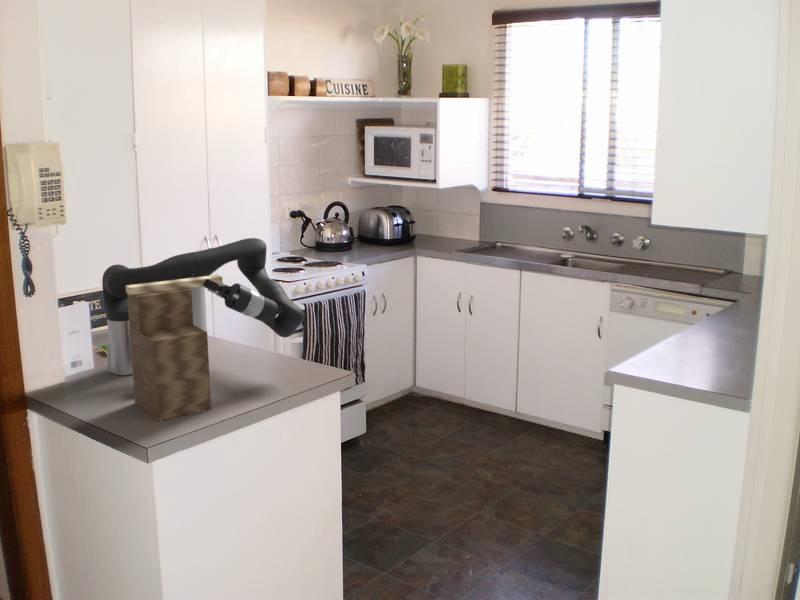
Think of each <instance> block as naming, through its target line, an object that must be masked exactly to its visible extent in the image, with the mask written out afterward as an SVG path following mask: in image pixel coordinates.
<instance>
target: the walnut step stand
mask: <svg viewBox="0 0 800 600" xmlns="http://www.w3.org/2000/svg"><path fill="white" fill-rule="evenodd" d="M127 298H128V312H129V326H130V340H131V354H132V367H133V374H132V379H133V392H134V404H135V405H137V406H138V407H139V408H140V409H142V410H143V411H144V412H146V414H148V415H149V414H150V415H149V416H151V417H152V418H153V419H154V418H155V420H156V421H157V422H161V421H160V420H163V421H165V419H167V420H170V419H169V418H171V419H175V418H174V417H176V418H178V417H177V416H180V417H183V416H182V415H184V416H188V415H187V414H189V415H191V414H190V413H193V414H196V413H195V412H198V411H202V412H204V411H203V410H206V411H210V410H209V409H211V410H212V401H211V400H212V399H211V380H210V378H211V377H210V361H209V342H208V331H207V332H206V331H204V330H202V329H200V328H198V327H196V326H194V325H193V309H192V291H191V289H189V288H186V289H177V290H169V291H161V292H153V293H145V294H137V295H129V294H127ZM198 413H199V412H198Z"/></svg>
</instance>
